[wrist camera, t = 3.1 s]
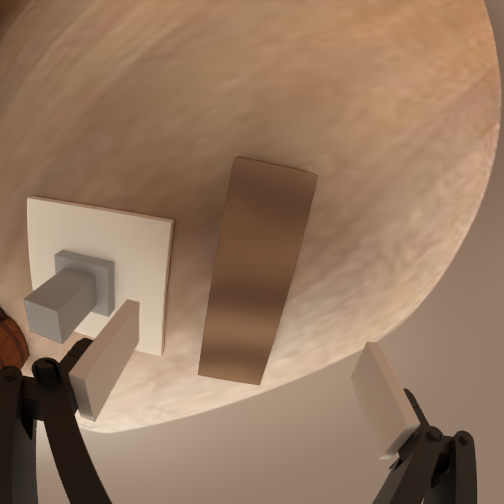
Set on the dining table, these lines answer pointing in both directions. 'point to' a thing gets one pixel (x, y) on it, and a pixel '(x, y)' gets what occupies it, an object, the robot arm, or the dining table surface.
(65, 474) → the robot arm
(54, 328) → the fulcrum
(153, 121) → the dining table surface
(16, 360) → the wooden figurine
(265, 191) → the bar
